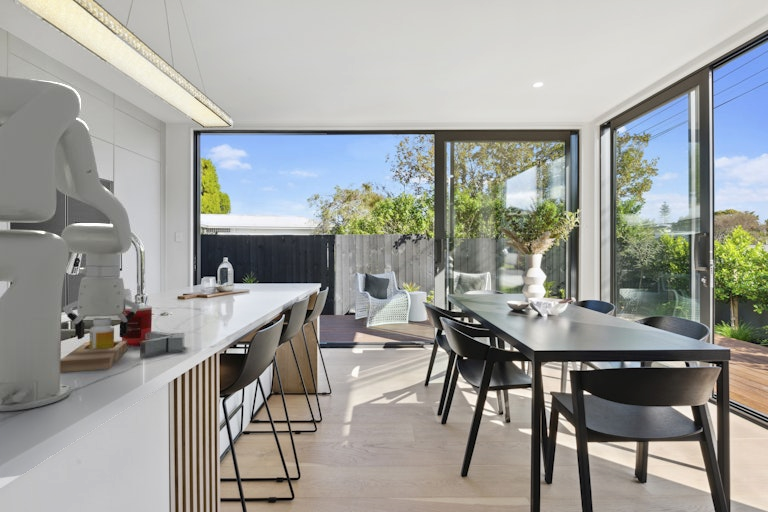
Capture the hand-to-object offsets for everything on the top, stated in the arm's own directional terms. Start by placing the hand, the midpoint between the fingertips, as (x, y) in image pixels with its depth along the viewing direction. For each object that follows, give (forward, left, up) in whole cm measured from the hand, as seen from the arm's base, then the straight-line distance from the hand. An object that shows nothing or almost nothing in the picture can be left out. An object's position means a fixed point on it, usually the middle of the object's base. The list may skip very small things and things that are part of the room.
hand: (101, 337), depth 112 cm
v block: (+2, -15, -5) cm, 15 cm away
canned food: (+13, -6, -5) cm, 15 cm away
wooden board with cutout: (-5, 0, -5) cm, 7 cm away
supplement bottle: (0, 0, -5) cm, 5 cm away
